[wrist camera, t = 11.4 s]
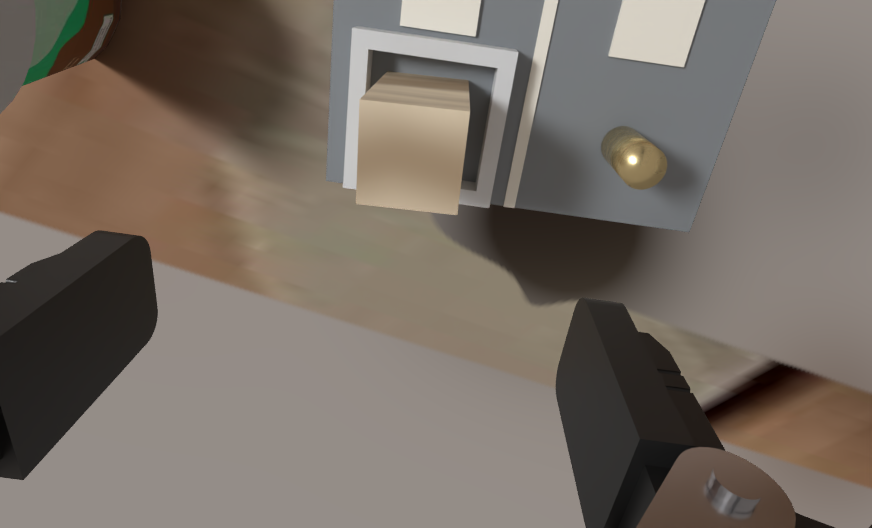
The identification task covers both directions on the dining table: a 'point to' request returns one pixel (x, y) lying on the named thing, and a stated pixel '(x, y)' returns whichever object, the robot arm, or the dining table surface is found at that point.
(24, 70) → the food container
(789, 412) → the dining table surface
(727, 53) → the board
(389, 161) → the square pin
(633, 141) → the pin
